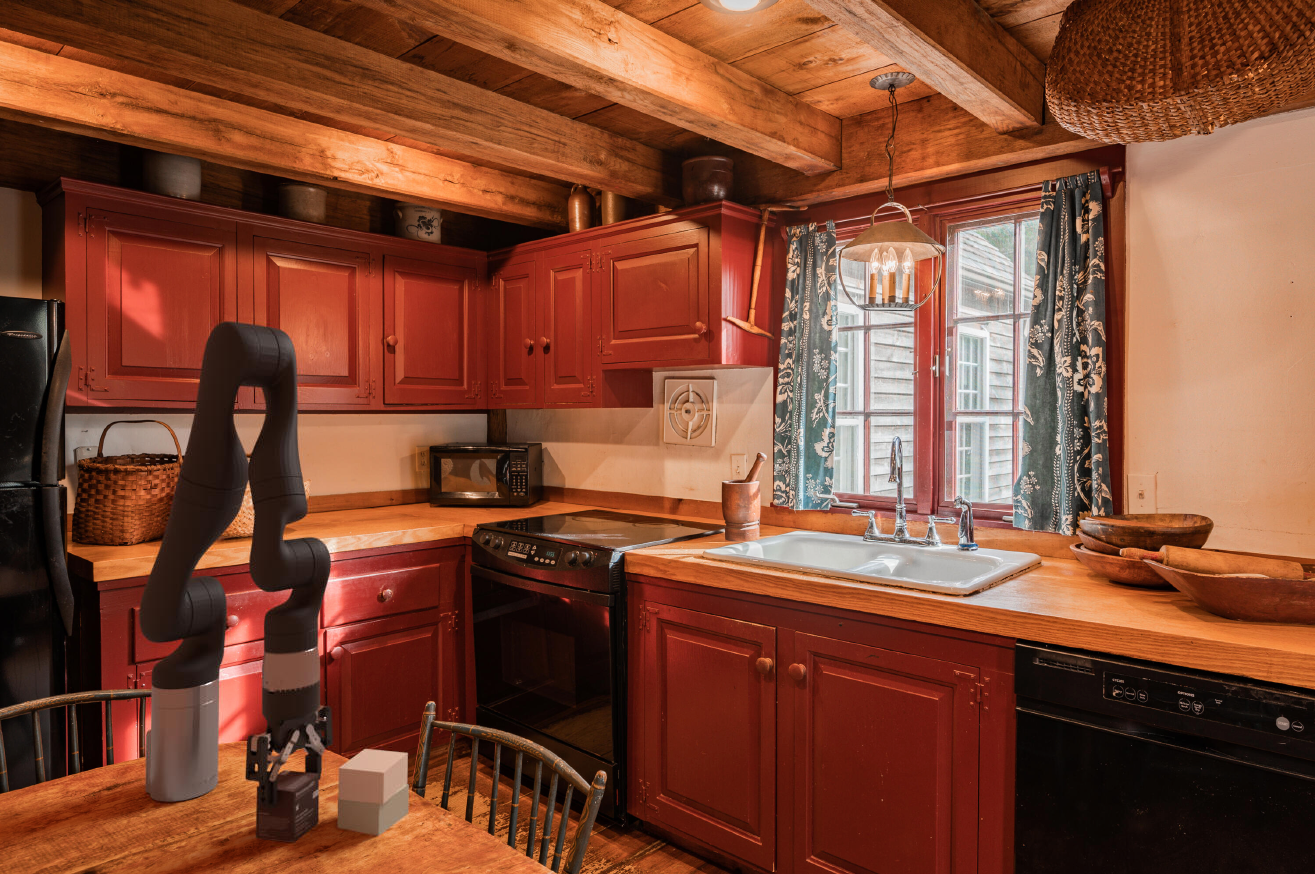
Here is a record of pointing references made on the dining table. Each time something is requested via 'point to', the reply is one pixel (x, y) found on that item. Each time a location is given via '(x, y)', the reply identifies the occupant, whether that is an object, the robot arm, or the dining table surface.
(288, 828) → the box
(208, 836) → the dining table surface
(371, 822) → the tower base
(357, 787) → the tower top
